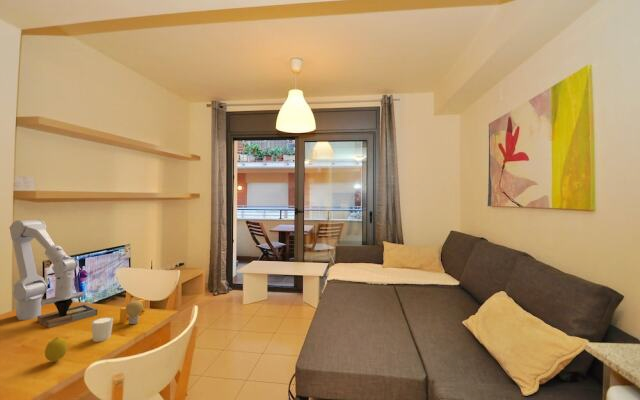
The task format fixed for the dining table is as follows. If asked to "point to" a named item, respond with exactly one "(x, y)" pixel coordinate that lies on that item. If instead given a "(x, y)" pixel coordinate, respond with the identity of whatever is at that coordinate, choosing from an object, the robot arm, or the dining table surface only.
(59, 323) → the slot board
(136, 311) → the light bulb
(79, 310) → the silvery white square block
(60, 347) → the lemon
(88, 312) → the tray
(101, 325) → the white cup
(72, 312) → the brass chip
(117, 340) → the dining table surface
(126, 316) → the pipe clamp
